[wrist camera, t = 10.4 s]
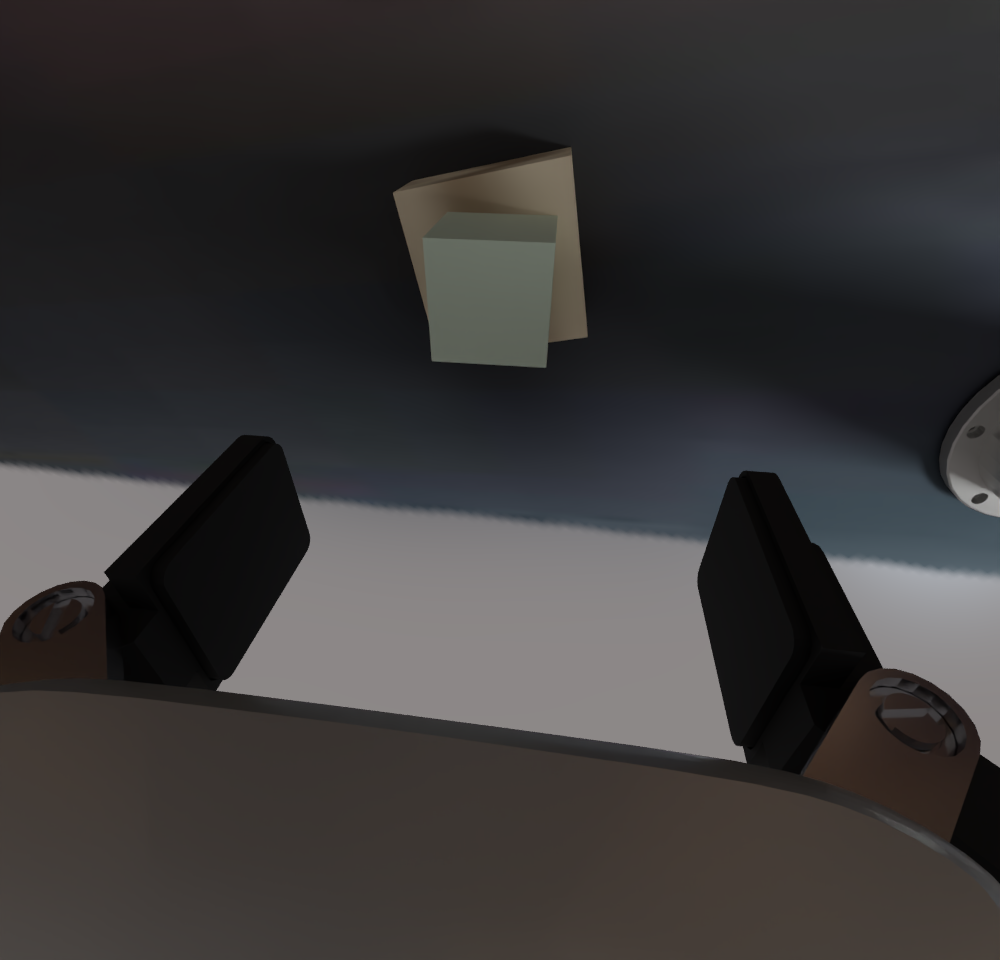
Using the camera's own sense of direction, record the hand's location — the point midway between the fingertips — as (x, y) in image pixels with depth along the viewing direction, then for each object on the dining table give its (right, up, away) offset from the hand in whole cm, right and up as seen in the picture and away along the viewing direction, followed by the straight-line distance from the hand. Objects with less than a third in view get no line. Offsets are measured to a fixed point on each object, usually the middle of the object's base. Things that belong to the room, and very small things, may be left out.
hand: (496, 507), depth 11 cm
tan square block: (0, +13, +17) cm, 21 cm away
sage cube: (0, +11, +14) cm, 17 cm away
